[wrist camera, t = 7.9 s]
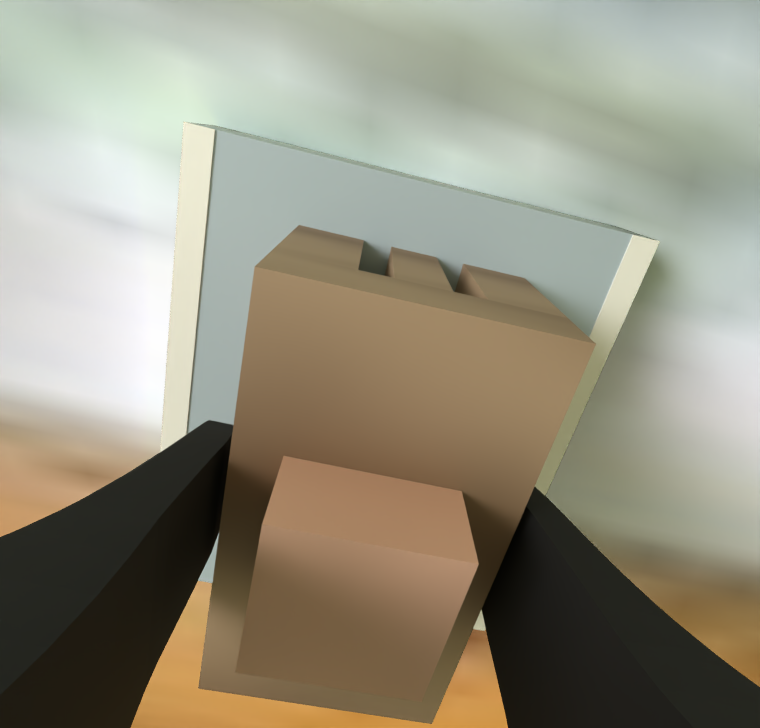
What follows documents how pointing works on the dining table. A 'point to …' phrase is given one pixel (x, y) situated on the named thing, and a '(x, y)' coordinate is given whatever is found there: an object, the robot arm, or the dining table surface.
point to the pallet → (387, 418)
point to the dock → (363, 259)
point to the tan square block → (356, 580)
